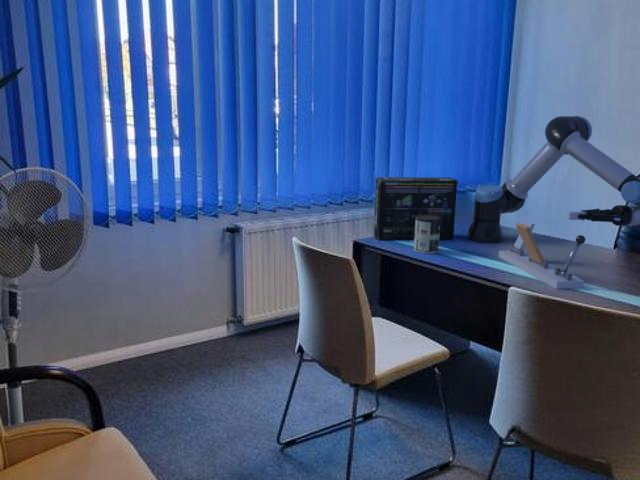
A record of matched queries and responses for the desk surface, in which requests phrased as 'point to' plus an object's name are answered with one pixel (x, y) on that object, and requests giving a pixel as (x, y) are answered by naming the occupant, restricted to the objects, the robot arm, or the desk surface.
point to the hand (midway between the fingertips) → (568, 215)
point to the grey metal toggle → (571, 256)
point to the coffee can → (427, 234)
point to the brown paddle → (530, 243)
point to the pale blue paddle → (519, 242)
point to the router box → (413, 205)
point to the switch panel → (541, 270)
